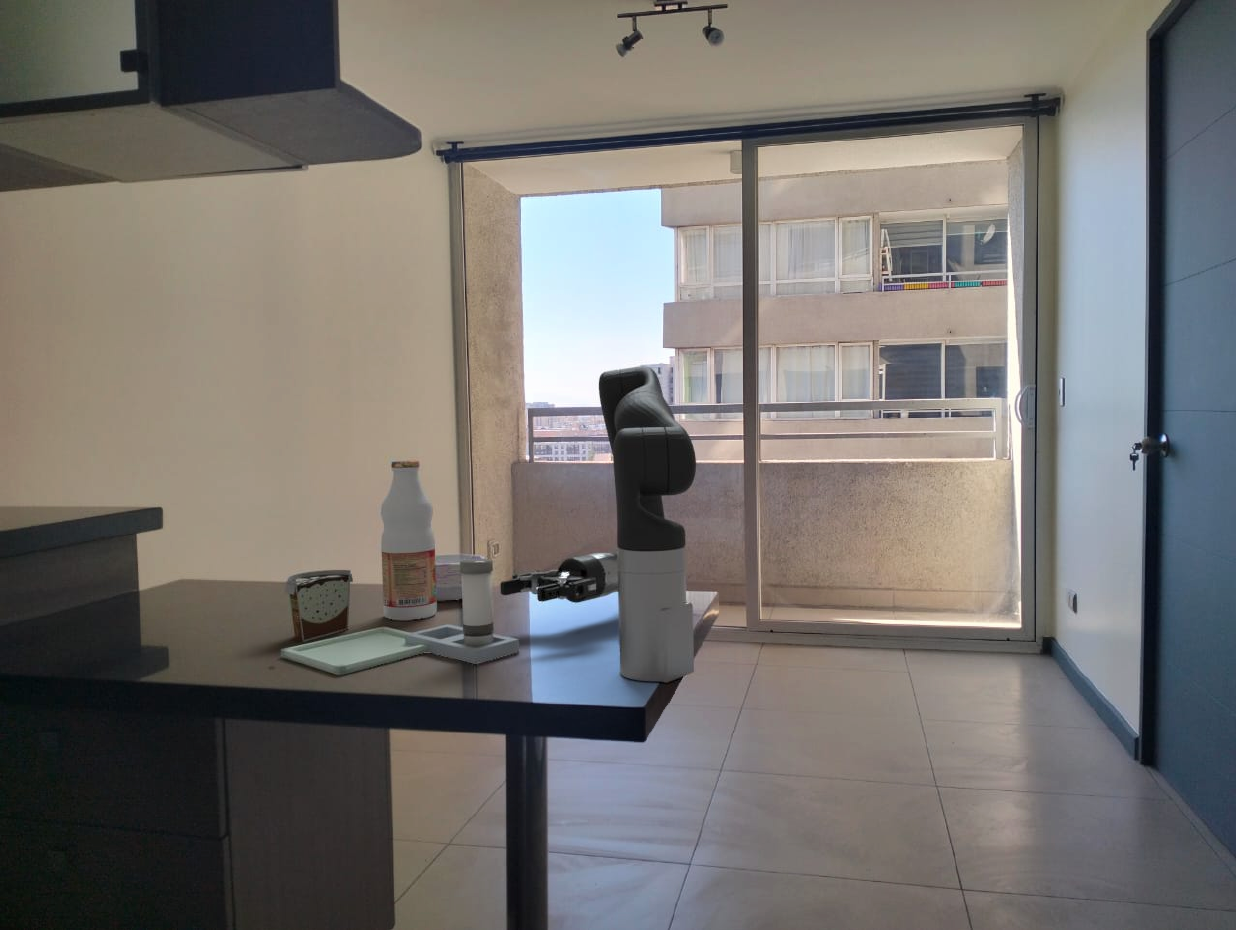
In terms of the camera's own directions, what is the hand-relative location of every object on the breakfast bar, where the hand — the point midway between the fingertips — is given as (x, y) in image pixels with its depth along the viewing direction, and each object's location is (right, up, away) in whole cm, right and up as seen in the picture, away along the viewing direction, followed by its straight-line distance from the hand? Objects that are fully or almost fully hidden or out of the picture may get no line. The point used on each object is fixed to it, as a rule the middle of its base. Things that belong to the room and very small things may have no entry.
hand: (520, 591), depth 137 cm
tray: (-23, -9, -4) cm, 25 cm away
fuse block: (-9, -8, -3) cm, 12 cm away
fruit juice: (-22, -8, +22) cm, 32 cm away
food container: (-36, -9, +10) cm, 38 cm away
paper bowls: (-18, -7, +38) cm, 43 cm away
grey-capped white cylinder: (-5, -9, -6) cm, 12 cm away
